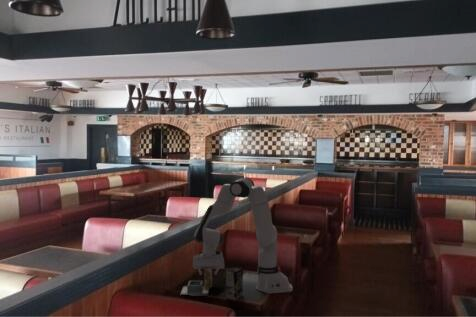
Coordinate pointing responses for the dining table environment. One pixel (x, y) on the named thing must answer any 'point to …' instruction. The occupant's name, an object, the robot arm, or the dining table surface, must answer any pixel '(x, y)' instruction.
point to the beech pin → (208, 277)
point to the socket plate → (195, 289)
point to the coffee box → (234, 283)
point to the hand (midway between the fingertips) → (208, 274)
